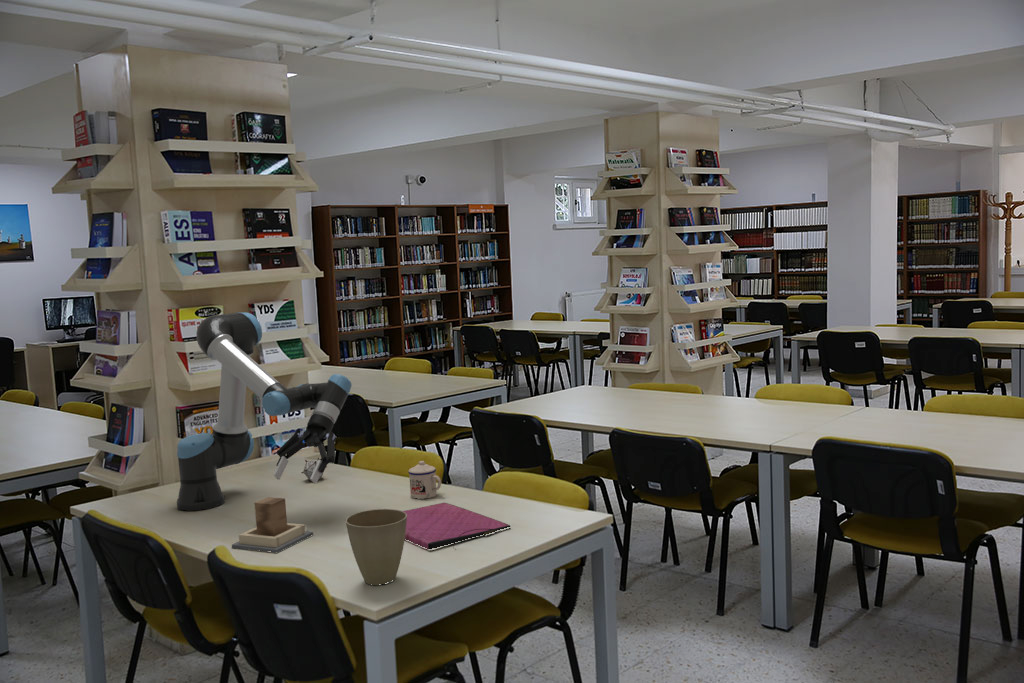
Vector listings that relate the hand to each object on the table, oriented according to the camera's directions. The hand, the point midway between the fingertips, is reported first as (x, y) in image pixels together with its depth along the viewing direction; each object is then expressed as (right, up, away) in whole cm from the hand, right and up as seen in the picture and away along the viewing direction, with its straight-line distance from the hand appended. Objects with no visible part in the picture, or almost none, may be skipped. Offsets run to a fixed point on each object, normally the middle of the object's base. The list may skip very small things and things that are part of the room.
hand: (294, 479), depth 260 cm
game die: (-8, -10, +62) cm, 63 cm away
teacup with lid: (+36, -11, +31) cm, 49 cm away
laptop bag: (+44, -14, -3) cm, 46 cm away
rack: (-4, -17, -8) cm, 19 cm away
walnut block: (-4, -16, -8) cm, 18 cm away
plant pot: (+32, -18, -43) cm, 57 cm away
